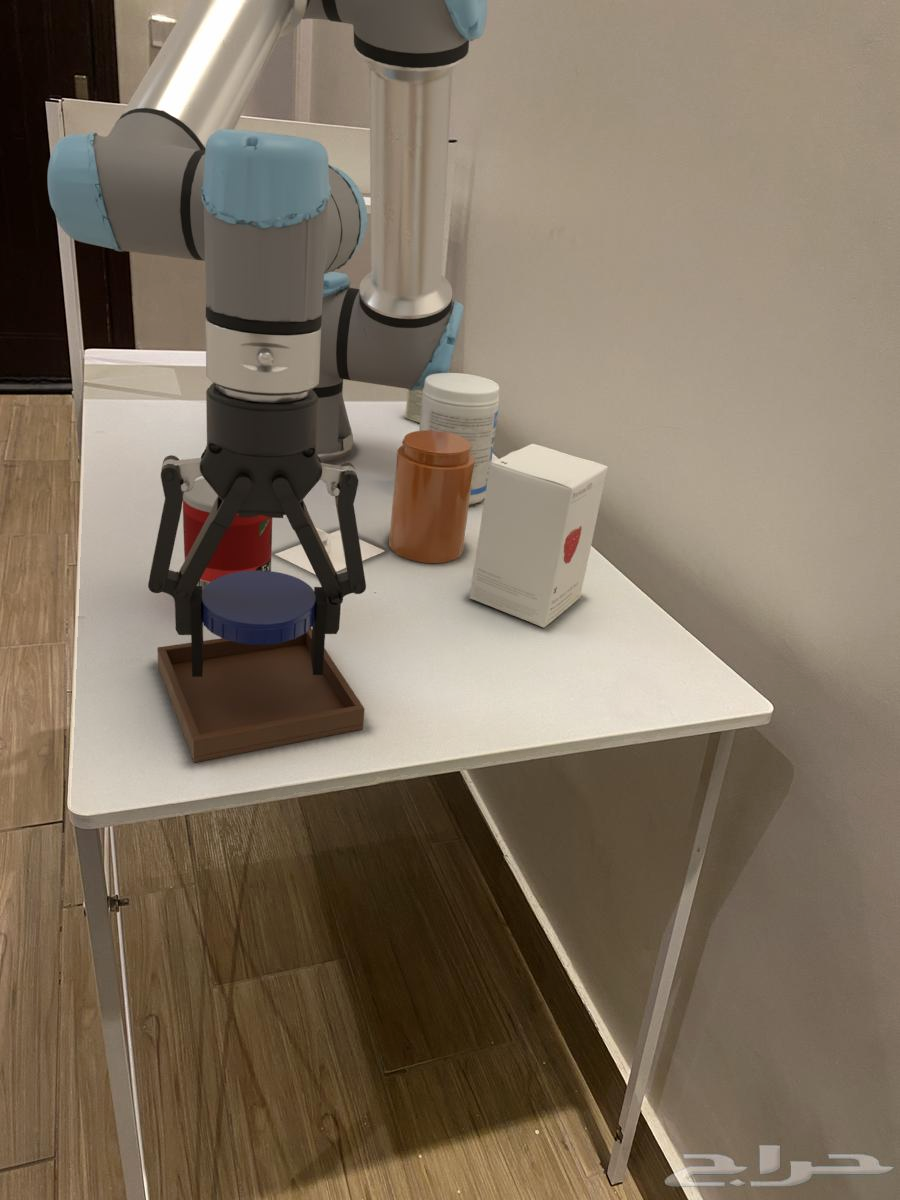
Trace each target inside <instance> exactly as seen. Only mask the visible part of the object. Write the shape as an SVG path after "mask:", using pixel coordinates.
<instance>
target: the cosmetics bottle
mask: <svg viewBox="0 0 900 1200" xmlns="http://www.w3.org/2000/svg"><path fill="white" fill-rule="evenodd" d="M449 373H451V368H450V369H449ZM406 393H407V394H406V405H405V419H408V420H410V421H413V422H416V423H419V424H420V416H421V405H422V394H423V391H422V390H414V391H410V390H409V389H407V392H406Z"/></svg>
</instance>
